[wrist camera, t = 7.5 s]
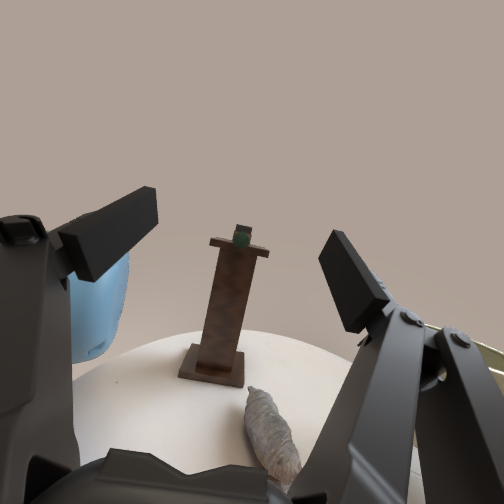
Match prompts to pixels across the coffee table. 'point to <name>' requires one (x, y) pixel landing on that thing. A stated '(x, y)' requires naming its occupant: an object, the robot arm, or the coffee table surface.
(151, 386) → the coffee table surface
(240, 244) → the brush
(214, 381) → the stand
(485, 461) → the robot arm
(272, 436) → the seashell
